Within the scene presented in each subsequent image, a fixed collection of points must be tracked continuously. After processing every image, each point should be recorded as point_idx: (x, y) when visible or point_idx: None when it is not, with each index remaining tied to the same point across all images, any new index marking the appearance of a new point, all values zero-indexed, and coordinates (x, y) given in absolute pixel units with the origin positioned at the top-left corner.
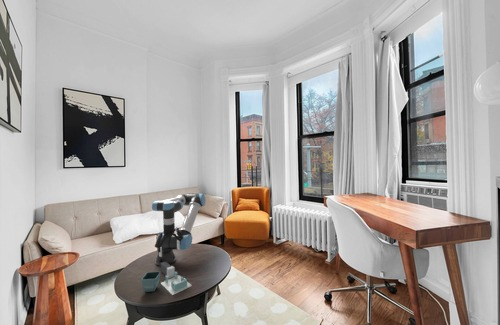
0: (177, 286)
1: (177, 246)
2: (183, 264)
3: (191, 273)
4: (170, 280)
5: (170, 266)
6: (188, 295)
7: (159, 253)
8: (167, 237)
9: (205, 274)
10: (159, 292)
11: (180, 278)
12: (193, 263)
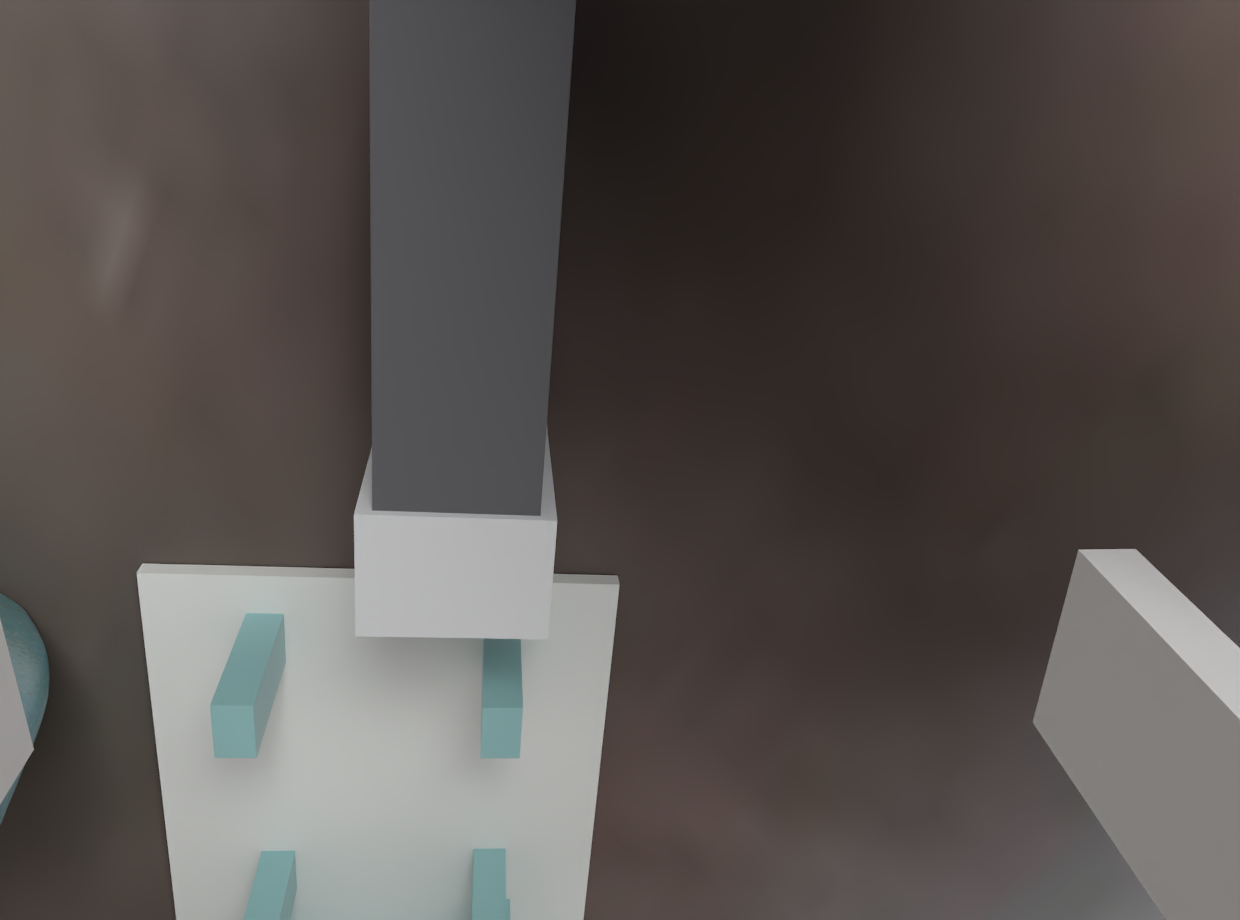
0: None
1: (1161, 714)
2: (1058, 149)
3: (848, 677)
4: (360, 637)
5: (501, 485)
6: None
7: None
8: None
9: (972, 875)
10: (23, 803)
11: (559, 714)
12: (1226, 328)
